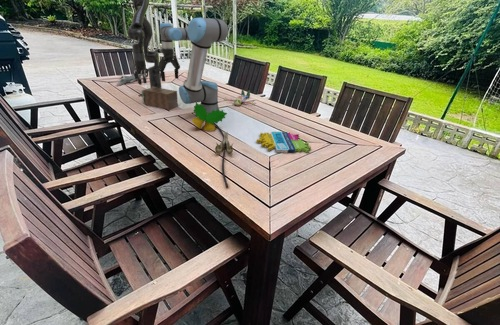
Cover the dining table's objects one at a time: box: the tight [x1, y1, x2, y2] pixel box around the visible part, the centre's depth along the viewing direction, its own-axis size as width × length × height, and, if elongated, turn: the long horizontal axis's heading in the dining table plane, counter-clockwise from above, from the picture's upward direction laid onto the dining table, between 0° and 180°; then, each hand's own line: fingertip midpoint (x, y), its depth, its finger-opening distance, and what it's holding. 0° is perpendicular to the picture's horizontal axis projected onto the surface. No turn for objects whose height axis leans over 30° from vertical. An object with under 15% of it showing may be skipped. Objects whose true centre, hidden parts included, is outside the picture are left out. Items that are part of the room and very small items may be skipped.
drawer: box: [138, 87, 150, 104], centre depth 197 cm, size 25×10×10 cm, turn 69°
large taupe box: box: [143, 87, 179, 111], centre depth 196 cm, size 21×11×12 cm, turn 69°
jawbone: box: [214, 131, 234, 156], centre depth 136 cm, size 9×15×10 cm
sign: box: [256, 131, 312, 154], centre depth 152 cm, size 26×2×30 cm
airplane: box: [114, 73, 148, 87], centre depth 254 cm, size 38×31×10 cm
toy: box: [223, 89, 257, 106], centre depth 219 cm, size 28×7×30 cm
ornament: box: [191, 102, 228, 132], centre depth 162 cm, size 21×8×15 cm, turn 105°
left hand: (142, 83), depth 196 cm, fingers open, 4 cm apart
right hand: (170, 79), depth 191 cm, fingers open, 13 cm apart
